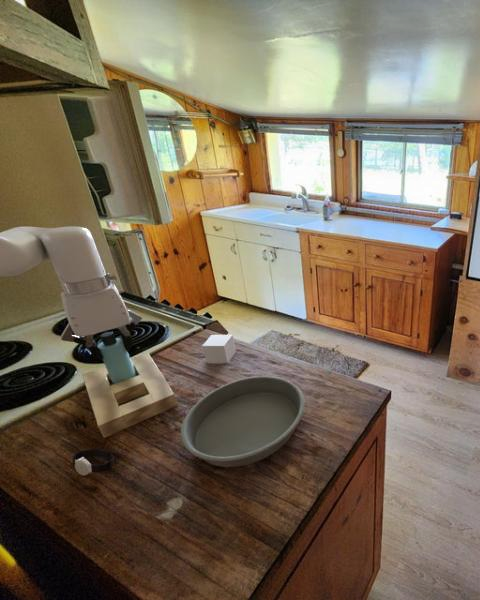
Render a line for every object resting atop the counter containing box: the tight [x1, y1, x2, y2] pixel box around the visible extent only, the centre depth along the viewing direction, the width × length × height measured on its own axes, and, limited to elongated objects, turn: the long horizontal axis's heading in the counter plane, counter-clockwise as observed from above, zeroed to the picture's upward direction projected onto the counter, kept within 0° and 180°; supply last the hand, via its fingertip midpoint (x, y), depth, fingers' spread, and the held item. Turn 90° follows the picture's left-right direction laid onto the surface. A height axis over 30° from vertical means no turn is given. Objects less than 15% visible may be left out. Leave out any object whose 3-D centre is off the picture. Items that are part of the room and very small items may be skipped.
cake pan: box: [180, 375, 306, 468], centre depth 72 cm, size 25×25×4 cm
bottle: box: [97, 331, 137, 384], centre depth 80 cm, size 5×5×14 cm
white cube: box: [201, 334, 237, 364], centre depth 95 cm, size 6×6×6 cm
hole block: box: [82, 352, 179, 439], centre depth 80 cm, size 14×24×4 cm, turn 47°
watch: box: [71, 448, 115, 476], centre depth 62 cm, size 8×5×4 cm, turn 77°
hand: (114, 352), depth 79 cm, fingers closed on bottle, 4 cm apart
